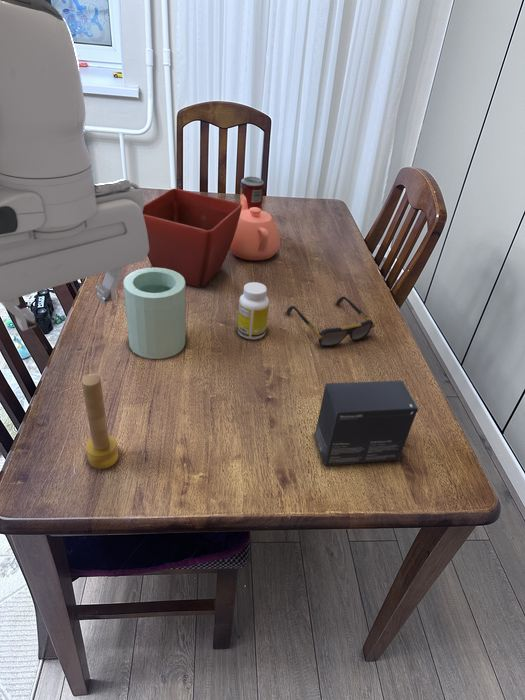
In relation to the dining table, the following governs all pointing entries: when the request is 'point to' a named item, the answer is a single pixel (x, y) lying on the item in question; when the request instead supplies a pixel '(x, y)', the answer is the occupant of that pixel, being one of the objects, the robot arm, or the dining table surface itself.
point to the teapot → (255, 234)
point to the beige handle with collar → (98, 425)
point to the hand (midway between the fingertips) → (68, 312)
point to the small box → (364, 422)
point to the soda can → (252, 191)
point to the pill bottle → (253, 311)
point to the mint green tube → (155, 312)
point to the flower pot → (190, 233)
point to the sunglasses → (338, 334)
